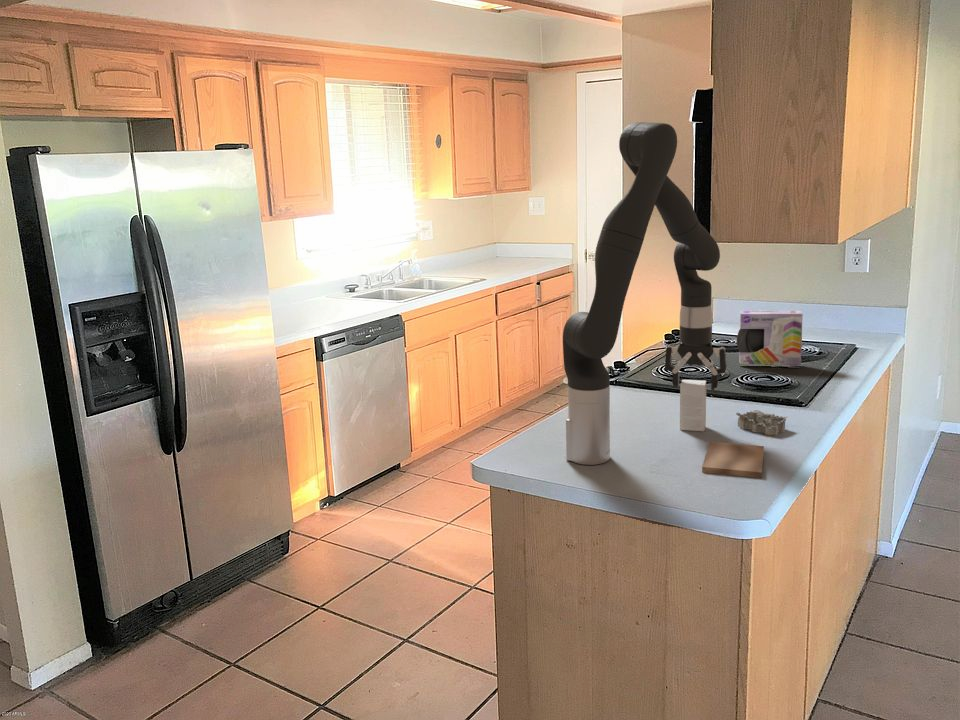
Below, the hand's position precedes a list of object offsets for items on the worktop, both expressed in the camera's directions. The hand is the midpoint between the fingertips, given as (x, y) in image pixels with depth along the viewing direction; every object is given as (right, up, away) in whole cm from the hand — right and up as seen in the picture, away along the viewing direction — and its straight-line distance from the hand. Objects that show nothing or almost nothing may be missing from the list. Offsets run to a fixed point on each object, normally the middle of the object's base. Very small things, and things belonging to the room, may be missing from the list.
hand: (695, 388), depth 195 cm
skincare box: (0, -10, +3) cm, 11 cm away
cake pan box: (+38, +5, +56) cm, 68 cm away
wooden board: (+3, -15, -19) cm, 25 cm away
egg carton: (+16, -10, +1) cm, 19 cm away
